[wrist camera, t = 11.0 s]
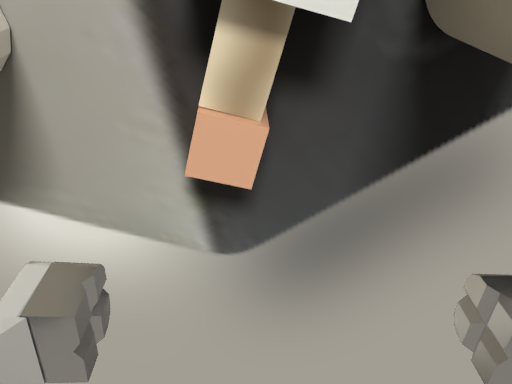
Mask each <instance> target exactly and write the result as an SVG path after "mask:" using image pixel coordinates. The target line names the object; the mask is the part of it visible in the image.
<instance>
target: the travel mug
mask: <svg viewBox="0 0 512 384" xmlns="http://www.w3.org/2000/svg"><path fill="white" fill-rule="evenodd" d="M426 4H427V8H428V11H429V13H430V15H431V17H432V19H433V21H434V22H435V23H436V25H437V26H438V27H439V28H440V29H441V30H442V31H443V32H445V33H446V34H448V35H450V36H451V37H453V38H456V39H458V40H460V41H462V42H465V43H467V44H469V45H471V46H474V47H476V48H478V49H480V50H482V51H485V52H487V53H489V54H491V55H494V56H496V57H498V58H500V59H502V60H505V61H507V62H509V63H511V64H512V0H426Z"/></svg>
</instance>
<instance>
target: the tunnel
mask: <svg viewBox="0 0 512 384" xmlns="http://www.w3.org/2000/svg"><path fill="white" fill-rule="evenodd" d="M274 1H277V2H281V3H284V4H288V5H291V6H295V7H298V8H302V9H306V10H309V11H313V12H316V13H320V14H323V15H327V16H330V17H334V18H337V19H341V20H345V21H348V22H352V19H353V16H354V13H355V10H356V7H357V4H358V2H359V0H274Z"/></svg>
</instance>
